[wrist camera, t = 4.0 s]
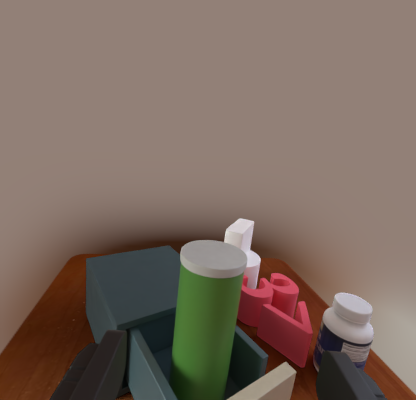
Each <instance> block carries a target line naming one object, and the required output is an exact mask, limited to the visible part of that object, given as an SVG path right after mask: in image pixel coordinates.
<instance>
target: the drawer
mask: <svg viewBox="0 0 416 400" xmlns="http://www.w3.org/2000/svg"><path fill="white" fill-rule="evenodd" d="M175 317H176V313H174V314H171V315H168V316H165V317H162V318H159V319H156V320H153V321H150V322H147V323H144V324H141V325H138V326H135V327H132V328H129V329H126V330H125V331H127V351H126V366H125V372H124V376H125V378H126V381H127V383H128V386H129V388H130V391H131V393H132V396H133V398H134V400H177V398H176V396H175V394H174V392H173V390H172V389H171V387H170V385H169V378H170V368H171V358H172V348H173V338H174V327H175ZM267 361H268V355H267V354H266V353H265V352H264V351H263V350H262V349H261V348H260V347H259V346H258V345H257V344H256V343H255V342H254V341H253V340H252V339H251V338H250V337H248V336H247V335H246V334H245V333H244V332H243V331H242V330H241V329H240V328H239V327H238V326H237V325H236V327H235V333H234V339H233V346H232V352H231V358H230V364H229V371H228V377H227V383H226V389H225V396H224V400H290V398H291V393H292V389H293V385H294V380H295V376H296V371H295V370H294V369H293V368H292V367H291V366H290V365H289V364H288V363H287V362H284V363H283V364H281V365H280V366H278V367H277V368H275V369H273V370H272V371H270V372H269V373H267V374H266V375H265V371H266V366H267Z"/></svg>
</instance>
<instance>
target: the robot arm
mask: <svg viewBox="0 0 416 400" xmlns="http://www.w3.org/2000/svg"><path fill="white" fill-rule="evenodd" d="M126 351H127V331H120V330H109V329H108V330H107V331H106V332H105V334H104V336H103V338H102V340H101V342H100V344H97V343H90V344H88V345H87V346H86V347H85V348H84V349H83V350H81V351H80V352H79V353H78V354H77V356H76V358H75V359H74V361H73V362H72V364H71V366H70V369H68V371H67V372H66V374H65V375H64V377H63V380H61V382H60V383H59V385H58V387H57V388H56V390H55V392H54V393H53V395H52V396H51V398H50V400H115V399H116V397H117V394H118V391H119V388H120V385H121V383H122V380H123V376H124V372H125V366H126ZM316 391H317V396H318V399H319V400H387V398H385V395H384V394H383V393H382V391H381V390H380V388H379V387H378V385H377V384H376V383H375V381H374V380H373V379H372V378H371V377H369V376H368V375H367V374H366V373H365V372H364V371H363V370H362V369H360V368H356V366H355V365H354V363H353V362H352V360H351V359H350V357H349V356H348V355H347V354H346V353H345V352H337V351H324V353H323V355H322V359H321V363H320V368H319V372H318V376H317V380H316Z"/></svg>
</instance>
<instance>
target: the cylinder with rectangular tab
mask: <svg viewBox="0 0 416 400" xmlns="http://www.w3.org/2000/svg"><path fill="white" fill-rule="evenodd" d="M253 227H254V221H250V220H246V219H238V220H237V221H236V222H235V223H234V224H232V225H231V226H230V227H229V228H227V229H226V234H225V241H224V242H225V243H228V244H231V245H234V246H236V247H238V248H239V249H241V250H242V251H243V252H244V253H245V254H246V256H247V265H246V269H245V271H244V275H246V276H247V277H248V282H247V288H250V289H256V285H257V279H258V273H259V267H260V261H261V259H260V257H259V256H258V255H257V254H256V253H255V252H253V251H251V250H250V245H251V238H252V233H253Z"/></svg>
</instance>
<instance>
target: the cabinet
mask: <svg viewBox="0 0 416 400" xmlns="http://www.w3.org/2000/svg"><path fill="white" fill-rule="evenodd" d="M180 266H181V261H180V255H179V254H178V253H177V252H176V251H174V250H173V249H172V248H171V247H170V246H164V247H158V248H151V249H144V250H138V251H131V252H125V253H118V254H112V255H106V256H99V257H93V258H87V259H86V315H87V318H88V321H89V324H90V327H91V330H92V333H93V336H94V339H95V342H96V343H97V344H100V342H101V340H102V338H103V336H104V334H105V332H106V331H107V330H108V329H109V330H120V331H125V330H126V329H129V328H132V327H135V326H138V325H141V324H144V323H147V322H150V321H153V320H156V319H159V318H162V317H165V316H168V315H171V314H174V313H176V307H177V297H178V287H179V277H180ZM128 392H130V388H129V386H128V383H127V381H126V378H125V376H123V380H122V383H121V385H120V388H119V391H118V394H117V397H116V398H118V397H120V396H122V395H124V394H126V393H128Z"/></svg>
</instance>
